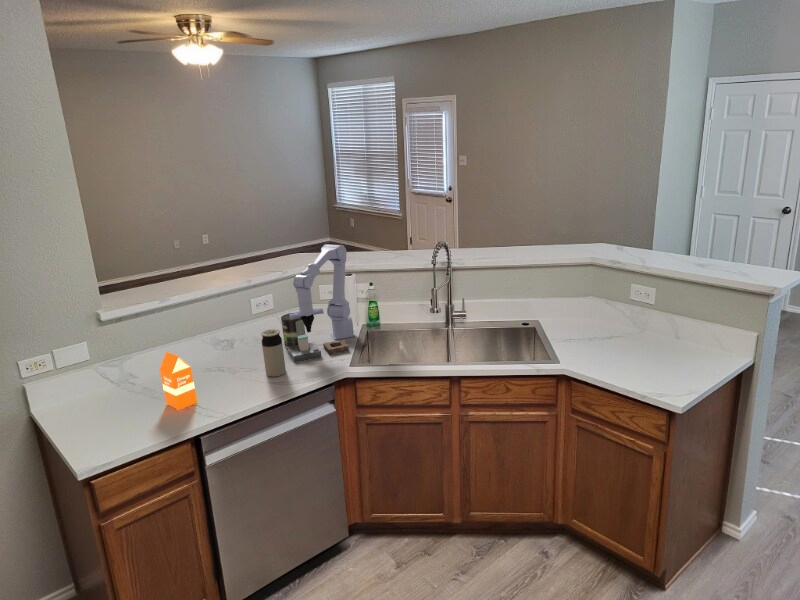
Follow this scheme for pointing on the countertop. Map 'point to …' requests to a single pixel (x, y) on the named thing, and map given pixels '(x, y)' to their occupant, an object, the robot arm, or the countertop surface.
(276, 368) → the travel mug
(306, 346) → the plug
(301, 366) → the countertop surface
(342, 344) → the wooden square frame
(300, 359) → the port panel
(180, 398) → the orange juice
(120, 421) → the countertop surface
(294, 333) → the coffee can
